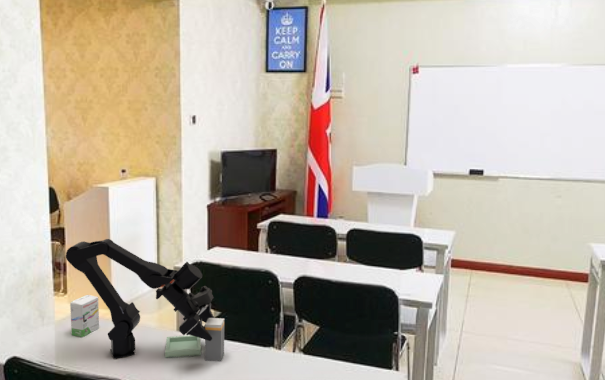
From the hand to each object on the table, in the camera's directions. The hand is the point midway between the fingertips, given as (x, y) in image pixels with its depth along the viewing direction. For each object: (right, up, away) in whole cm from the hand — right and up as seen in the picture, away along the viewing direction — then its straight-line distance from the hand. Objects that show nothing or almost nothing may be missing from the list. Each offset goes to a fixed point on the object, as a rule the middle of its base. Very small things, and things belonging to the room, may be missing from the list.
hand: (214, 333), depth 161 cm
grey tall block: (0, -8, +1) cm, 8 cm away
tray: (-11, -7, +6) cm, 15 cm away
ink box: (-48, -4, +17) cm, 51 cm away
